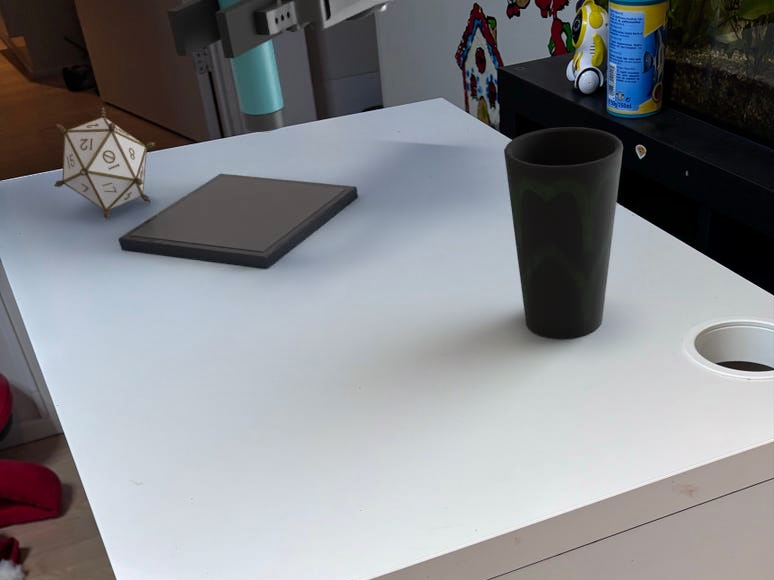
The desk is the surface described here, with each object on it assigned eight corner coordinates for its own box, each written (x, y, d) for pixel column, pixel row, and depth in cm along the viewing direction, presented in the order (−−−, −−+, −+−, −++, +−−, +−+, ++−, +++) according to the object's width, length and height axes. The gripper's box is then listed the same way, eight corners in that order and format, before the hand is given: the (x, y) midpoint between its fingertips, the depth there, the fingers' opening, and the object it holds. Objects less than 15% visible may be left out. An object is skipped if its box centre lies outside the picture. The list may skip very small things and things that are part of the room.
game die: (128, 239, 100) (125, 132, 99) (174, 223, 94) (172, 109, 93) (37, 218, 93) (33, 104, 92) (81, 200, 88) (77, 77, 87)
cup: (627, 302, 76) (635, 129, 67) (602, 351, 70) (607, 170, 62) (528, 292, 78) (523, 124, 69) (497, 339, 73) (487, 163, 64)
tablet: (121, 249, 89) (117, 237, 88) (222, 183, 99) (220, 172, 98) (267, 268, 84) (265, 256, 83) (358, 197, 94) (356, 185, 94)
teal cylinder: (236, 130, 77) (196, -59, 69) (259, 117, 79) (222, -69, 71) (273, 133, 76) (236, -59, 68) (294, 119, 78) (261, -69, 70)
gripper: (453, 14, 84) (314, 101, 69) (284, 9, 89) (120, 89, 74) (445, -97, 79) (294, -29, 64) (266, -96, 84) (86, -33, 69)
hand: (201, 34), depth 69 cm, fingers closed on teal cylinder, 3 cm apart
